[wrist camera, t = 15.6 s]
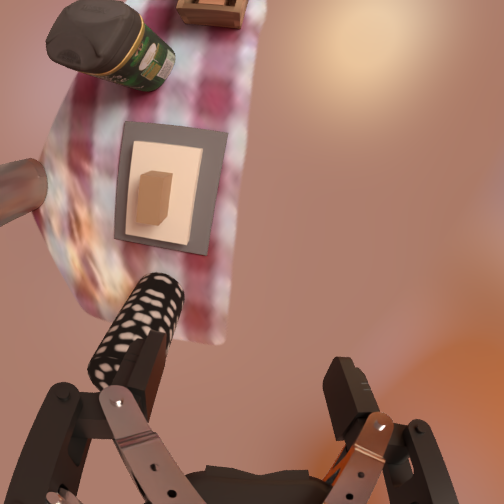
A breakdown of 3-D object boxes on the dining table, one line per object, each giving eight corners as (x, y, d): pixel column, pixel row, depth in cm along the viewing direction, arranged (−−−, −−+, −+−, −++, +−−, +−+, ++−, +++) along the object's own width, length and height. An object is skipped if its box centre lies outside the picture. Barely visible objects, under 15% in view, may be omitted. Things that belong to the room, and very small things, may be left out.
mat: (207, 254, 43) (206, 255, 43) (115, 237, 42) (114, 238, 41) (228, 133, 37) (228, 133, 36) (126, 121, 35) (125, 121, 35)
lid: (189, 240, 42) (180, 257, 36) (130, 229, 41) (113, 245, 35) (203, 148, 37) (194, 150, 31) (139, 140, 36) (120, 142, 30)
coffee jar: (105, 80, 32) (27, 58, 15) (131, 34, 30) (66, -12, 13) (158, 100, 34) (94, 77, 17) (185, 52, 32) (142, -3, 15)
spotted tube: (128, 283, 45) (74, 363, 26) (168, 264, 44) (123, 349, 25) (154, 321, 48) (118, 409, 29) (193, 306, 47) (169, 400, 28)
